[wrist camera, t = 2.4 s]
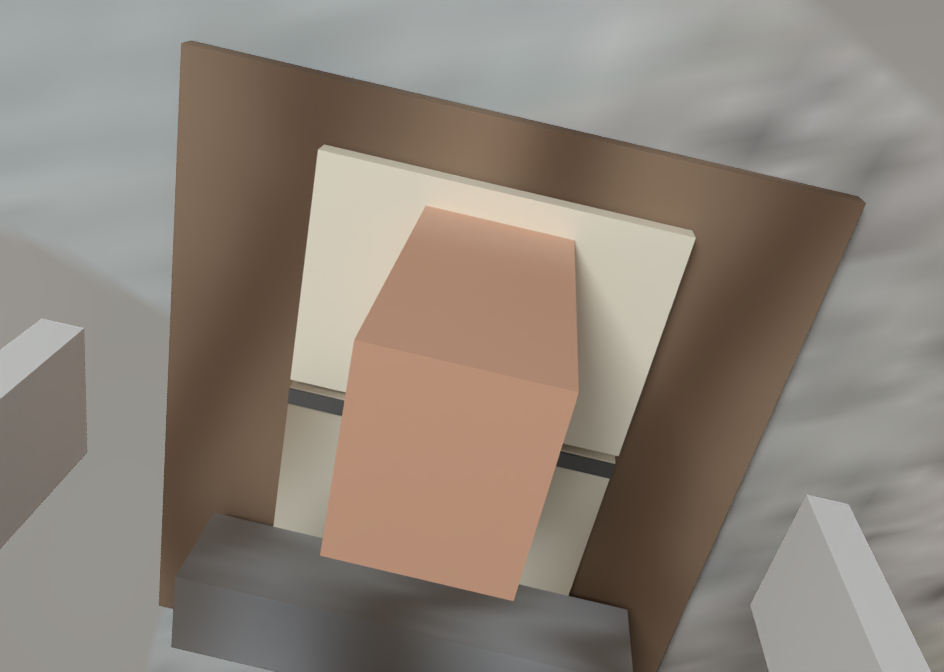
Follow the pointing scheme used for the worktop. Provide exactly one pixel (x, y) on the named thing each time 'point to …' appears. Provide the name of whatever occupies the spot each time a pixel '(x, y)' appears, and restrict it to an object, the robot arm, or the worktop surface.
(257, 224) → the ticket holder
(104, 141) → the worktop surface
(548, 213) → the tan blocky piece
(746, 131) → the worktop surface
